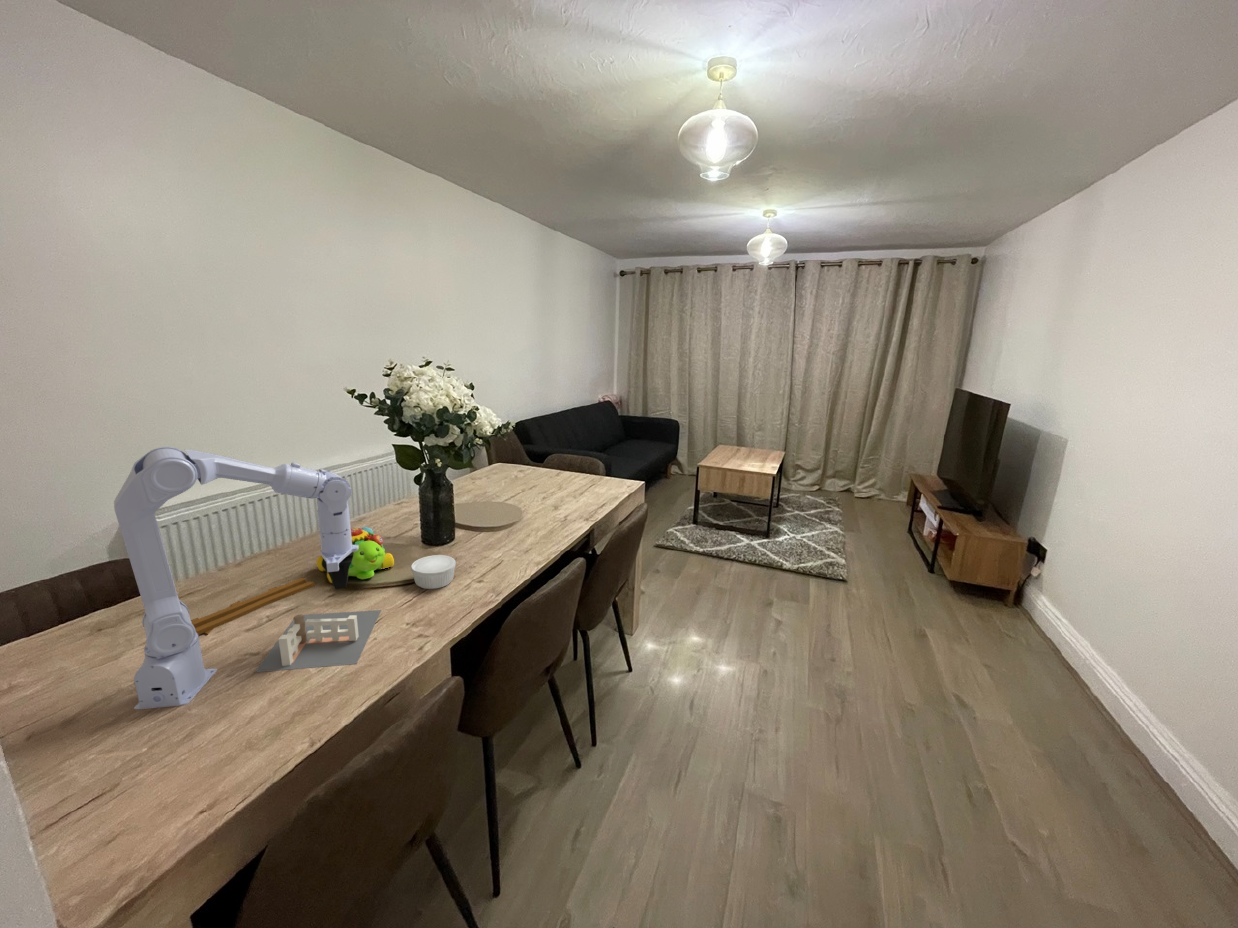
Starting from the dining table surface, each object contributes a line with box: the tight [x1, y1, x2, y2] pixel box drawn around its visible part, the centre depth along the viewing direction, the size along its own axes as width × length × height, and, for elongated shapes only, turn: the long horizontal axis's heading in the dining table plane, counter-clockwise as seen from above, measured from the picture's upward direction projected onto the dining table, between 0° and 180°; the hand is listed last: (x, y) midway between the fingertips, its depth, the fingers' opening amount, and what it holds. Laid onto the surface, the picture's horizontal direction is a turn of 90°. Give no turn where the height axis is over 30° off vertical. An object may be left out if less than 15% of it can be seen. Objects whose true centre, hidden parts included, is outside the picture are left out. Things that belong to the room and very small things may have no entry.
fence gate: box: [305, 615, 359, 641], centre depth 104 cm, size 10×1×5 cm, turn 98°
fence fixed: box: [278, 614, 307, 666], centre depth 100 cm, size 9×2×6 cm, turn 12°
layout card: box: [253, 609, 382, 674], centre depth 106 cm, size 20×18×1 cm
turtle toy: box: [316, 526, 395, 584], centre depth 133 cm, size 17×23×12 cm
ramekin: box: [410, 554, 457, 590], centre depth 132 cm, size 11×11×5 cm
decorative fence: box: [191, 577, 316, 636], centre depth 116 cm, size 25×2×10 cm
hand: (340, 587), depth 107 cm, fingers closed
